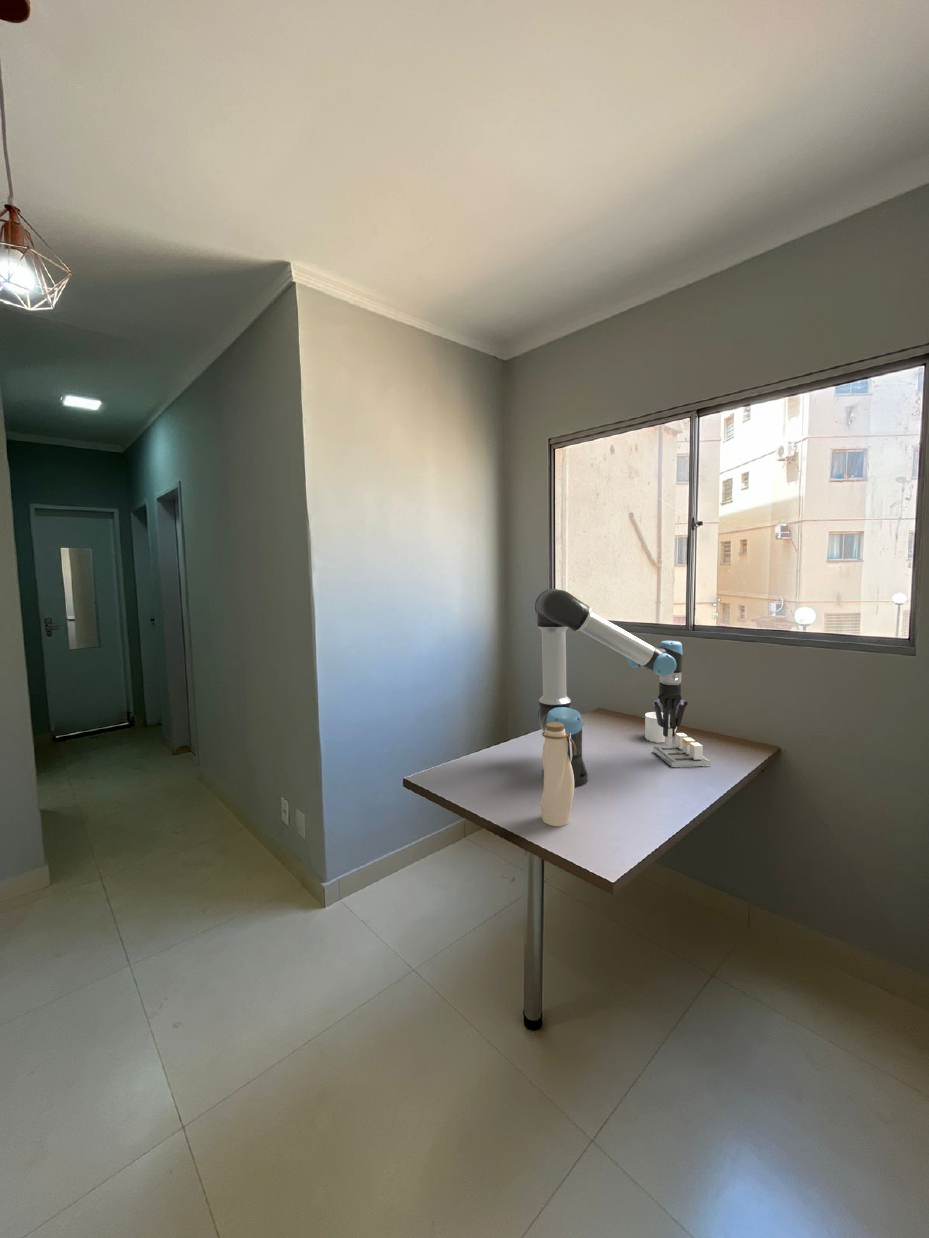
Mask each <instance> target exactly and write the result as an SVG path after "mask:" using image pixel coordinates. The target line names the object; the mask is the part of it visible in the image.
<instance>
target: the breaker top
mask: <svg viewBox="0 0 929 1238" xmlns="http://www.w3.org/2000/svg"><path fill="white" fill-rule="evenodd" d="M674 737H675V743H674V746H676V747H678V748H679V749H682V743H683V742H682V739H683V738H689V736H688V735H687V734H686V733H684V732H675V736H674Z"/></svg>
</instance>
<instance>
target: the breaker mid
mask: <svg viewBox="0 0 929 1238" xmlns="http://www.w3.org/2000/svg"><path fill="white" fill-rule="evenodd" d="M682 742H683V743H682V751H683V752H685V753H686V754H689V753H690V743H696V740H695V739H693V738H692V737H688V738H683V739H682Z"/></svg>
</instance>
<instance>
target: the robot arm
mask: <svg viewBox="0 0 929 1238" xmlns="http://www.w3.org/2000/svg"><path fill="white" fill-rule="evenodd" d="M534 610H535V613H536V619H537V621H536V623H537V628H538V629H539V630H540V631H541V658H542V659H541V662H542V663H541V665H542V668H541V669H542V696H541V697H540V698H538V709H537V712H536V720H537V724H538V726H539V727H540V729H541V730H542V732H544V731H545V729H546V724H547V723H549V722H560V723H563V724H564V729H565V732H566V733H567V734H568V736H569V737H570V732H571V739H572V740H573V742H574V743H575V746H576V755H574V746H573V744H572V742H571V745H572V760H571V757H570V743H569V739H568V738H567V737H566V738H567V741H568V756H569V759H570V762H571V765H572V769H573V774H574V788H577V787H581V786H583V785H586V783H587V782H588V781H589V780H588V775H589V774H588V770H587V768H586V764H585V761H584V758H583V726H584V725H583V724H584V722H583V717H582V714H581V713H580V712H579V711H578V710H576V709H574V708H572V699H571V698H570V697H569V696H568V694H567V690H568V689H567V644H566V642H567V640H566V639H567V637H566V636H567V635H566V634H567V633H566V632H567V630H568V629H570V630H572V631H574V632H579V631H580V632H581V633H584V634H585V635H586V636H588V637H590V638H593V640H596V641H597V642H600V644H602V645H604V646H606V647H608V648H610V649H611V650H613V651H615V652H617V653H619V654H620V655H623V656H624V657H626V659H627V663H628V666H629V667H631V668H636V669H639V668H641V669H645V670H647V671H649V672H651V673H653V674H656V675H658V676H659V680H658V681H659V685H658V686H659V687H658V696H657V698H656V699H655V700H652V701H651V705H652V706H653V707H654V712H655V713H656V717H657V722H658V725H659V726H661V727H663V736H665V743H664V744H665V745H666V747H667V746H673V737H675V736H676V732H675V729H676V727H677V728H678V727H681V724H682V720H683V716H684V712H685V710H686V707H687V706H688V704H689V703H688V701H686V700H684V699H683V697H682V695H681V694H682V684H681V683H682V672H683V671H682V670H683V669H682V668H683V655H684V654H683V644H682V642H681V641H677V640H662V641H661V642H660V643H659V646H653V645H652V644H649V643H647V642H646V641H644V640H642V639H640V638H639V637H637V636H635V635H633V634H632V633H630V632H628V631H626V630H625V629H623V628H622V627H620V626H618V625H616V624H614V623H613V622H611V621H609V620H607V619H606V618H604V617H602V616H600V615H598V614H597V613H595V612H594V611H592V608H591V606H589V605H588V604H586V603H584V602H583V601H581V600H579V599H578V598H577V597H576V596H574V595H573V594H571V593H570V592H568V591H566V590H563V589H557V588H547V589H544V590H543V591H541V592H540V593H539V594H538V595H537V597H536V598H535V601H534ZM660 705H662V710H661V706H660ZM677 706H678V707H677ZM661 713H663V719H662V714H661ZM669 715H670V719H669ZM669 726H670V727H669ZM676 730H677V729H676ZM542 779H543V780H544V768H543V770H542Z"/></svg>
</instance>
